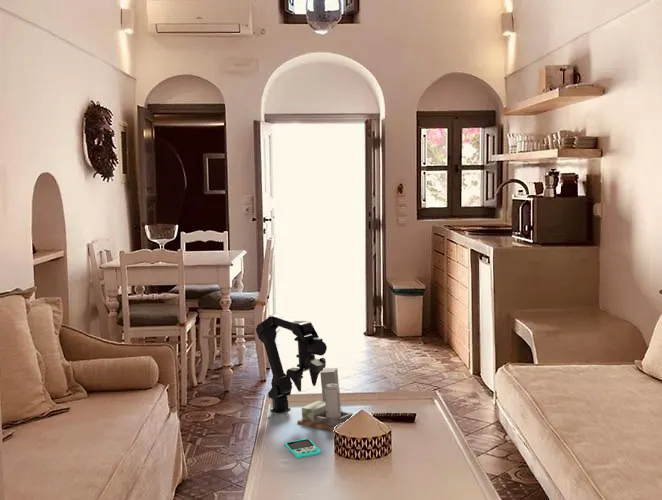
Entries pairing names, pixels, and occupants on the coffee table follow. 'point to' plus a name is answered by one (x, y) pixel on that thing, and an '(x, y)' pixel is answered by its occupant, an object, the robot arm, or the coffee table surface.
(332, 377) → the skincare box
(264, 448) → the coffee table surface
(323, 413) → the port plate
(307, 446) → the handheld game console
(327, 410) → the energy drink can
